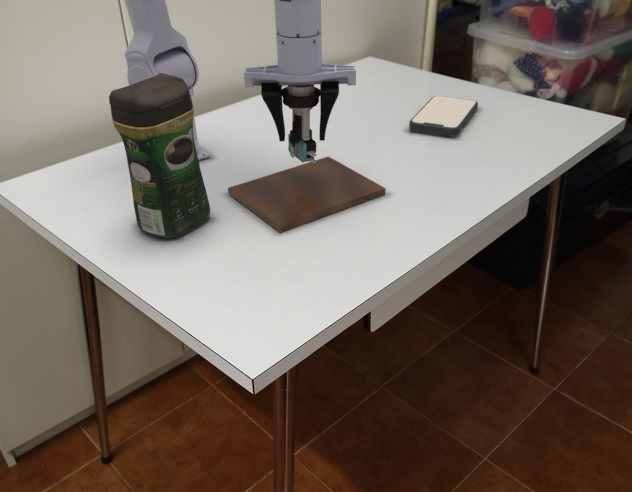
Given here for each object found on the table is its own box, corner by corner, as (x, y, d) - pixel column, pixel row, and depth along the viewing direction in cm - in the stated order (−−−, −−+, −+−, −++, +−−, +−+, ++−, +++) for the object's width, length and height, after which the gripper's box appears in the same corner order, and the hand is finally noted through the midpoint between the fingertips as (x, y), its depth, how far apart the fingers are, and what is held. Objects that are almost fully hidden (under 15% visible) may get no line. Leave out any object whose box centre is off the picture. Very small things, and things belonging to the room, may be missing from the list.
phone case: (432, 103, 118) (406, 131, 107) (433, 94, 117) (407, 122, 106) (478, 109, 115) (456, 139, 104) (480, 100, 114) (458, 129, 103)
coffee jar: (179, 201, 89) (155, 64, 77) (220, 216, 86) (201, 75, 74) (127, 229, 84) (92, 85, 71) (168, 246, 80) (138, 98, 68)
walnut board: (280, 232, 82) (279, 226, 81) (228, 194, 91) (227, 187, 90) (385, 194, 90) (385, 188, 89) (328, 162, 98) (328, 156, 98)
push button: (330, 163, 88) (333, 89, 81) (297, 170, 86) (296, 95, 79) (308, 146, 92) (309, 75, 86) (276, 152, 90) (274, 80, 84)
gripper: (355, 22, 81) (353, 126, 90) (244, 25, 81) (253, 128, 90) (357, 37, 76) (355, 145, 85) (238, 39, 76) (248, 147, 85)
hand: (302, 138), depth 87 cm, fingers closed on push button, 5 cm apart
